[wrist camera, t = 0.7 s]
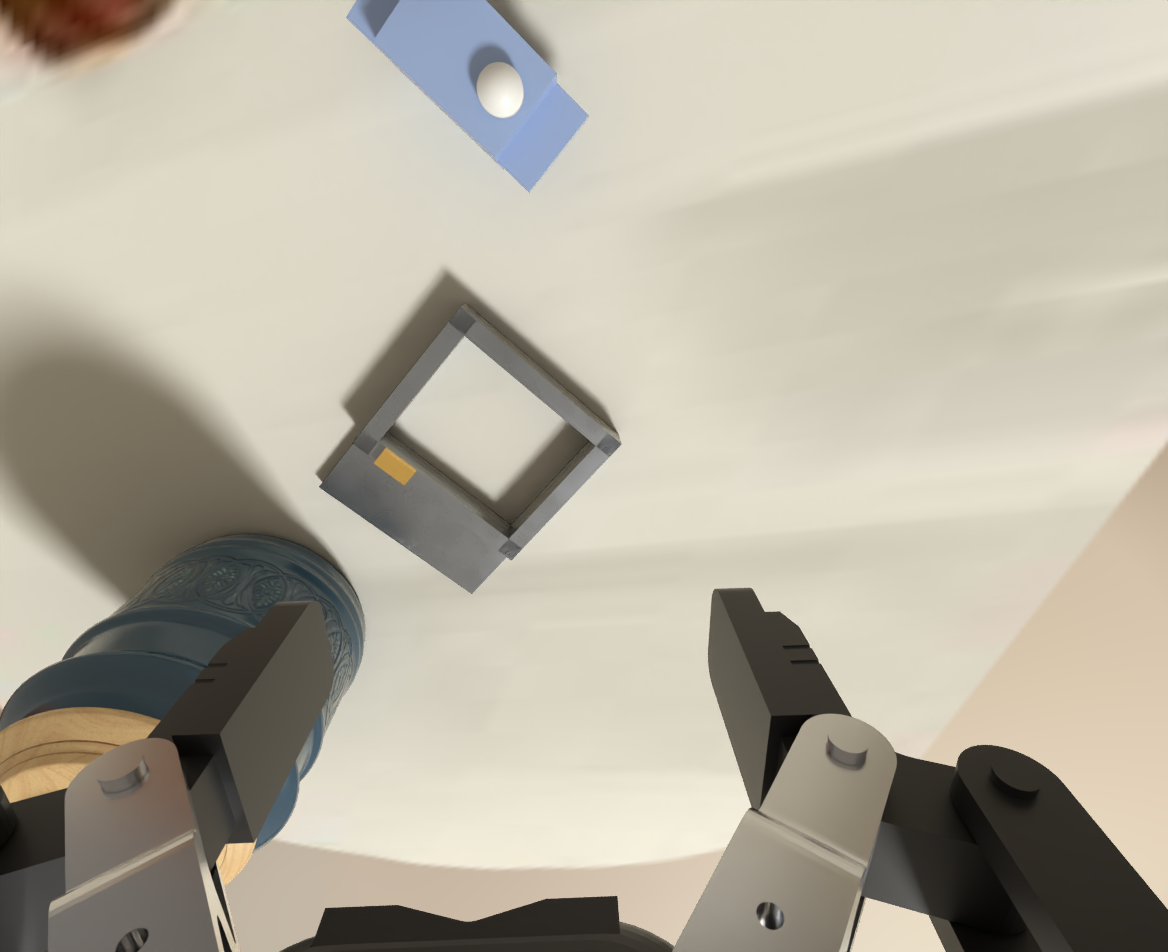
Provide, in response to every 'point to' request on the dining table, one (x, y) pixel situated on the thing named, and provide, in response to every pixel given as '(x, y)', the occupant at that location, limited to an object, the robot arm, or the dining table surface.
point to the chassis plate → (433, 501)
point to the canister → (173, 666)
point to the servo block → (477, 77)
